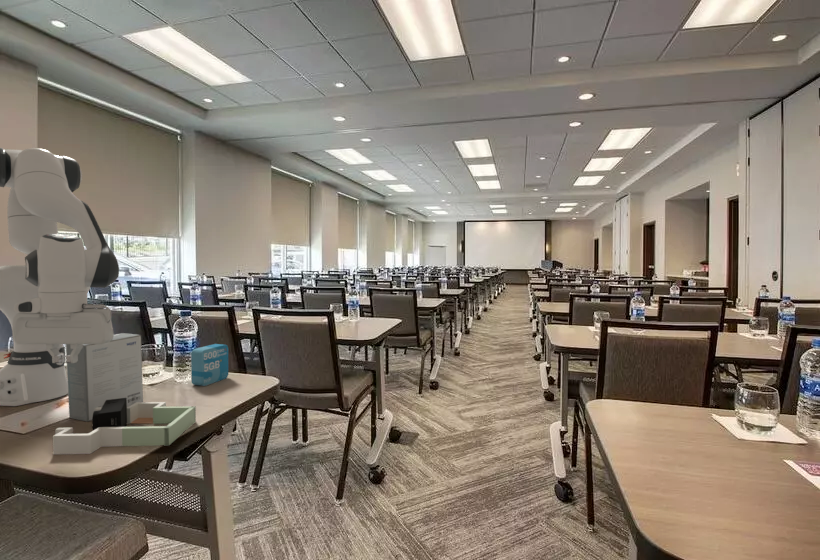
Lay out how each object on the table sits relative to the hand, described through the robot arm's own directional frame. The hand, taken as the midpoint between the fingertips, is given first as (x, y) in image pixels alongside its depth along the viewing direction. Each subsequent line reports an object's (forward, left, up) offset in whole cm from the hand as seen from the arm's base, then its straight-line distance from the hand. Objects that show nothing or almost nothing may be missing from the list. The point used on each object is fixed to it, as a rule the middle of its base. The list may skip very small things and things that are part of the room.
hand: (65, 362), depth 100 cm
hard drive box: (0, +16, -17) cm, 24 cm away
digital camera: (+10, 0, -17) cm, 20 cm away
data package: (+17, +43, -17) cm, 49 cm away
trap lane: (+15, 0, -17) cm, 22 cm away
